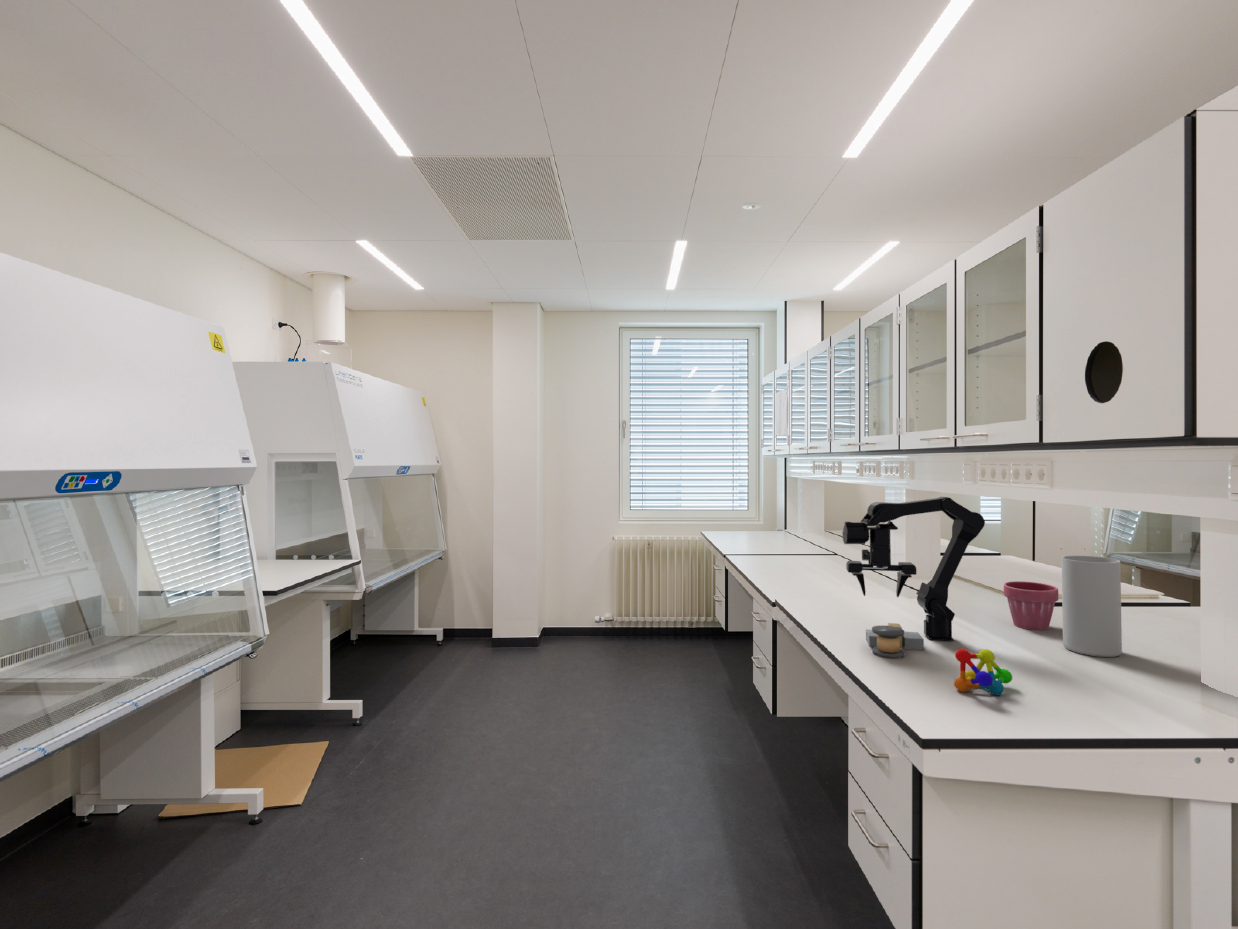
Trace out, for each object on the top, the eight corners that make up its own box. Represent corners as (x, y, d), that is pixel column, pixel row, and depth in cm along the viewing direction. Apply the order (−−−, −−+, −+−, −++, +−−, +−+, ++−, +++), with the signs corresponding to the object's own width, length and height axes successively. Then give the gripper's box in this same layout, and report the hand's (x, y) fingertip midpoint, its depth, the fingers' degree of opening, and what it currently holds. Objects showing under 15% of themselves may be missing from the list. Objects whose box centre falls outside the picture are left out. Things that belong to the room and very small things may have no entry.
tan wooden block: (899, 644, 168) (899, 623, 168) (902, 649, 164) (901, 627, 164) (888, 644, 169) (887, 623, 169) (890, 648, 165) (890, 626, 165)
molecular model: (1019, 715, 129) (983, 683, 125) (972, 709, 138) (937, 679, 133) (1024, 667, 135) (989, 634, 130) (978, 664, 143) (944, 633, 138)
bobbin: (901, 650, 163) (900, 626, 163) (907, 659, 155) (907, 634, 155) (870, 648, 165) (869, 624, 165) (874, 657, 157) (874, 632, 157)
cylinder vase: (1134, 656, 155) (1132, 561, 155) (1096, 660, 153) (1094, 563, 153) (1087, 642, 167) (1086, 554, 167) (1051, 645, 165) (1050, 556, 165)
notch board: (917, 642, 169) (917, 632, 169) (923, 650, 163) (923, 639, 163) (865, 639, 173) (865, 629, 173) (869, 646, 166) (869, 636, 166)
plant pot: (1044, 635, 175) (1043, 592, 175) (994, 624, 187) (994, 584, 187) (1068, 628, 182) (1067, 586, 182) (1019, 618, 194) (1018, 579, 194)
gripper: (908, 541, 182) (909, 592, 181) (844, 540, 186) (844, 589, 186) (916, 546, 171) (917, 600, 171) (848, 545, 176) (848, 597, 176)
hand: (880, 596), depth 176 cm, fingers open, 9 cm apart
